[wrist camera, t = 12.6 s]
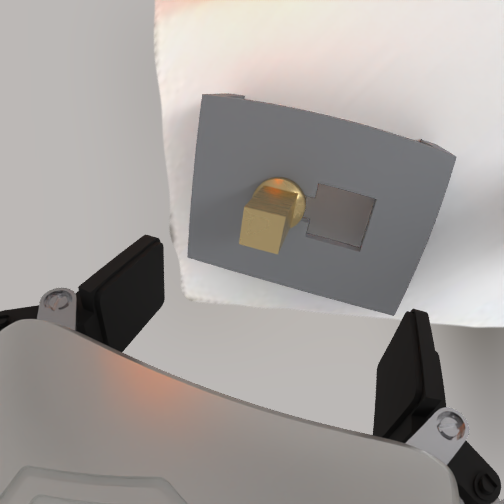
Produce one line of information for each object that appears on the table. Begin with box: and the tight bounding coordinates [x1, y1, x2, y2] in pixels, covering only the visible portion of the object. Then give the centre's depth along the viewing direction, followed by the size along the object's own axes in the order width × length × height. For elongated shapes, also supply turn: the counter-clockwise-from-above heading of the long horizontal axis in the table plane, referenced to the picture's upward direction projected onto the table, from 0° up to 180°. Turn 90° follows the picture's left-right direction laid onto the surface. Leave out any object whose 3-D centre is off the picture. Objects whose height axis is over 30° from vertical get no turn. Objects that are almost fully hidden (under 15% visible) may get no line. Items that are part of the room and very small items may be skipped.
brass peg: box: [239, 177, 306, 254], centre depth 30 cm, size 5×5×12 cm
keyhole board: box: [188, 94, 456, 316], centre depth 33 cm, size 24×18×7 cm
